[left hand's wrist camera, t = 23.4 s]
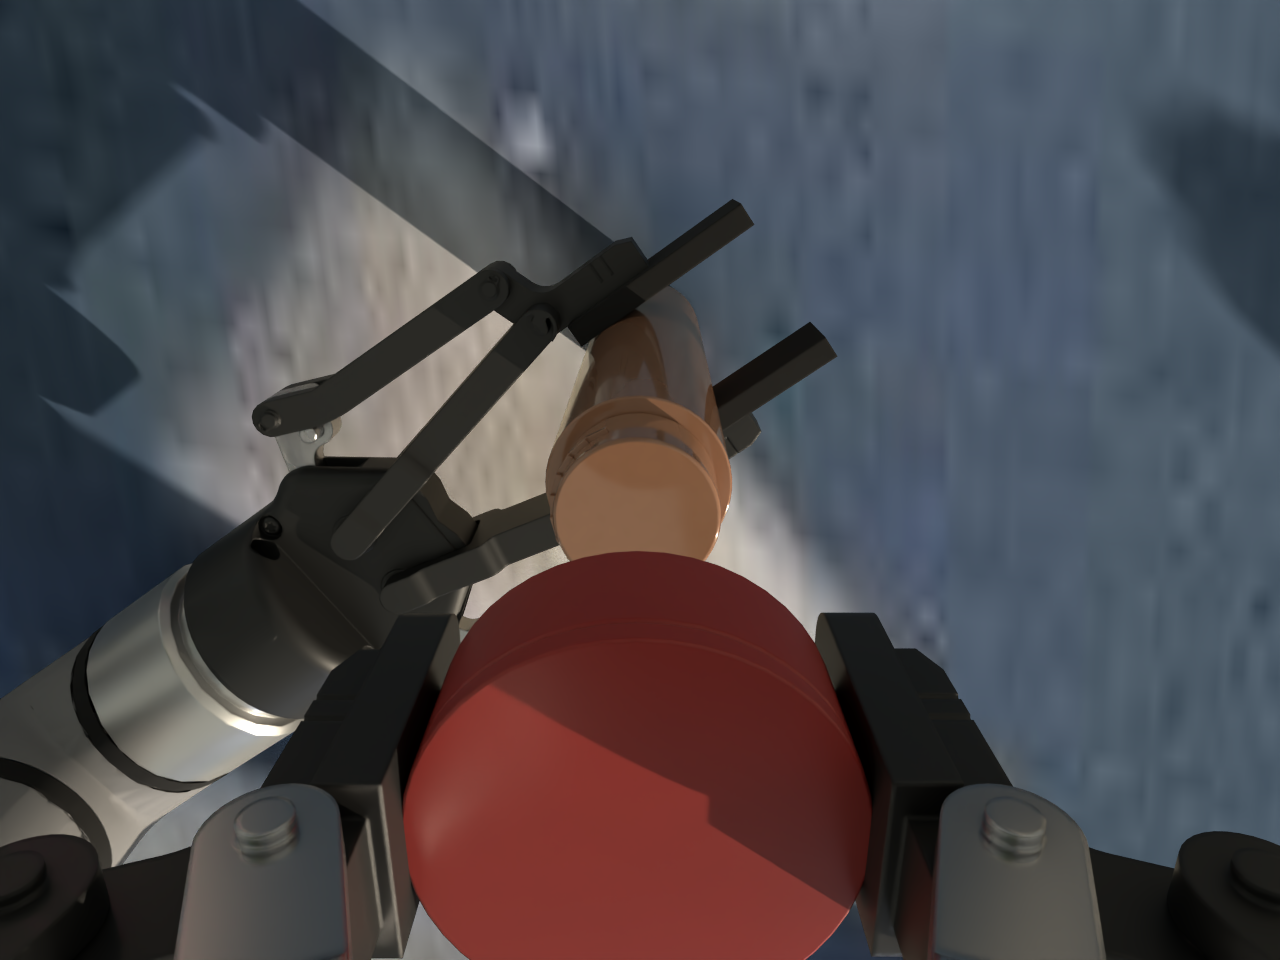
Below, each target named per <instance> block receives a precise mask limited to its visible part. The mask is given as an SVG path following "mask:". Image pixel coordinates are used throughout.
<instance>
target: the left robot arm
mask: <svg viewBox="0 0 1280 960" xmlns="http://www.w3.org/2000/svg"><path fill="white" fill-rule="evenodd" d="M460 643H461V641H460V630H459V623H458V619H457V616H456V615H455V614H454V613H440V614H400V615H399V616H398V618H397V619H396V621H395V623H394V625H393V627H392V629H391V631H390V633H389V635H388V636H387V638H386V640H385V642H384V644H383V646H382V648H381V649H359V650H358V651H357V652H355V653H354V654H353V655H351V656H350V657H349V658H347V659H346V660H345V661H343V662H342V663H341V664H339V665H338V666H337V667H335V668H334V669H333V670H331V672H330V674H329V675H328V677H327V679H326V680H325V682H324V684H323V685H322V687H321V689H320V690H319V692H318V694H317V698H316V700H313V702H312V704H311V705H310V707H309V709H308V710H307V712H306V713H305V715H304V721H301V722H300V723H299V725H298V727H297V728H296V730H295V732H294V733H293V735H292V737H291V738H290V740H289V742H288V743H287V745H286V747H285V748H284V750H283V752H282V753H281V755H280V757H279V758H278V760H277V762H276V763H275V765H274V767H273V768H272V770H271V772H270V773H269V775H268V777H267V778H266V780H265V782H264V783H263V785H262V786H261V788H260V789H257V790H254V791H251V792H249V793H246V794H244V795H242V796H240V797H238V798H236V799H234V800H232V801H230V802H229V803H227V804H225V805H224V806H222V807H221V808H220V809H218V810H217V811H216V812H214V813H213V814H212V815H211V816H210V817H209V818H208V819H207V820H206V821H205V822H204V823H203V825H202V826H201V827H200V828H199V830H198V832H197V833H196V835H195V837H194V839H193V843H192V846H191V847H188V848H185V849H182V850H180V851H177V852H173V853H170V854H166V855H162V856H158V857H154V858H149V859H145V860H141V861H136V862H132V863H128V864H123V865H119V866H115V867H110V868H106V869H102V868H101V865H100V861H99V857H98V854H97V851H96V849H95V847H94V846H93V845H92V844H91V843H90V842H88V841H87V840H85V839H83V838H81V837H77V836H74V835H67V834H49V835H41V836H35V837H31V838H26V839H22V840H19V841H16V842H13V843H10V844H7V845H4V846H2V847H0V960H371V958H403V955H404V951H405V948H406V945H407V941H408V938H409V935H410V931H411V928H412V924H413V921H414V918H415V914H416V911H417V908H418V904H419V901H420V900H419V898H418V896H417V895H416V893H415V890H414V888H413V885H412V882H411V879H410V873H409V865H408V857H407V848H406V840H405V832H404V823H403V812H402V802H403V794H404V790H405V787H406V784H407V780H408V777H409V774H410V770H411V767H412V765H413V762H414V759H415V757H416V754H417V752H418V750H419V746H420V743H421V741H422V738H423V735H424V733H425V730H426V727H427V725H428V722H429V719H430V717H431V714H432V711H433V709H434V706H435V703H436V701H437V698H438V695H439V693H440V690H441V687H442V685H443V682H444V679H445V677H446V674H447V671H448V668H449V666H450V664H451V662H452V659H453V657H454V655H455V653H456V651H457V649H458V647H459V645H460ZM815 644H816V646H817V648H818V650H819V653H820V655H821V657H822V659H823V661H824V663H825V665H826V667H827V670H828V673H829V676H830V678H831V681H832V684H833V687H834V689H835V692H836V695H837V698H838V700H839V703H840V706H841V709H842V711H843V714H844V717H845V720H846V722H847V725H848V728H849V731H850V733H851V736H852V739H853V741H854V744H855V747H856V750H857V752H858V755H859V758H860V761H861V763H862V766H863V769H864V772H865V775H866V779H867V782H868V785H869V789H870V792H871V797H872V818H871V828H870V837H869V845H868V854H867V863H866V871H865V877H864V882H863V884H862V887H861V890H860V892H859V894H858V896H857V898H856V900H855V901H856V905H857V908H858V911H859V915H860V918H861V922H862V925H863V929H864V932H865V936H866V939H867V942H868V946H869V949H870V953H871V956H872V957H903V960H1280V846H1279V845H1277V844H1274V843H1272V842H1269V841H1266V840H1263V839H1260V838H1257V837H1254V836H1249V835H1245V834H1240V833H1233V832H1223V831H1213V832H1204V833H1200V834H1197V835H1194V836H1192V837H1190V838H1189V839H1187V840H1186V841H1185V842H1184V843H1183V844H1182V846H1181V848H1180V851H1179V854H1178V857H1177V861H1176V865H1175V868H1170V867H1165V866H1161V865H1157V864H1152V863H1148V862H1144V861H1139V860H1135V859H1131V858H1126V857H1122V856H1118V855H1113V854H1109V853H1106V852H1102V851H1098V850H1095V849H1092V848H1089V846H1088V843H1087V839H1086V837H1085V835H1084V833H1083V832H1082V830H1081V828H1080V827H1079V826H1078V825H1077V823H1076V822H1075V821H1074V820H1073V819H1072V818H1071V817H1070V816H1069V815H1068V814H1067V813H1066V812H1064V811H1063V810H1062V809H1060V808H1059V807H1058V806H1056V805H1055V804H1053V803H1051V802H1050V801H1048V800H1046V799H1044V798H1042V797H1040V796H1038V795H1036V794H1034V793H1031V792H1029V791H1026V790H1023V789H1020V788H1016V787H1013V786H1012V784H1011V782H1010V781H1009V779H1008V777H1007V776H1006V774H1005V772H1004V771H1003V769H1002V767H1001V766H1000V764H999V762H998V761H997V759H996V757H995V755H994V754H993V752H992V750H991V749H990V747H989V745H988V744H987V742H986V740H985V739H984V737H983V735H982V734H981V732H980V730H979V729H978V727H977V725H976V723H975V722H974V720H971V719H970V713H969V712H968V710H967V708H966V707H965V705H964V703H963V702H962V700H961V699H958V693H957V691H956V690H955V688H954V686H953V685H952V683H951V681H950V680H949V678H948V676H947V675H946V673H945V671H944V670H943V669H942V668H941V667H939V666H938V665H937V664H935V663H934V662H933V661H931V660H930V659H929V658H927V657H926V656H925V655H923V654H922V653H921V652H920V651H918V650H917V649H894V647H893V645H892V643H891V641H890V639H889V638H888V636H887V634H886V632H885V630H884V628H883V626H882V624H881V622H880V620H879V618H878V617H877V615H876V614H875V613H820V615H819V617H818V620H817V626H816V636H815Z"/></svg>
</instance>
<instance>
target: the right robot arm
mask: <svg viewBox="0 0 1280 960" xmlns="http://www.w3.org/2000/svg"><path fill="white" fill-rule="evenodd" d="M753 225H754V223H753V222H752V220H751V219H750V217H749V216H748V214H747V212H746V211H745V209H744V208H743V206H742V204H741V203H739V202H737V201H735V200H733V199H732V200H730V201H729V202H728V203H726V204H725V205H723V206H722V207H721V208H719V209H718V210H716V211H715V212H714V213H712V214H711V215H709V216H708V217H707V218H705V219H704V220H702V221H701V222H700V223H698V224H697V225H695V226H694V227H693V228H691V229H690V230H689V231H687V232H686V233H684V234H683V235H682V236H680V237H679V238H677V239H676V240H675V241H673V242H672V243H670V244H669V245H668V246H666V247H665V248H663V249H662V250H661V251H659V252H658V253H656V254H655V255H654V256H652V257H651V258H649V259H648V260H647V258H646V257H645V256H644V254H643V253H642V251H641V250H640V248H639V247H638V245H637V244H636V242H635V241H634V239H633V238H632V237H630V238H626V239H621V240H617V241H615V242H614V243H612V244H611V245H610V246H608V247H607V248H605V249H604V250H603V251H601V252H600V253H599V254H597V255H596V256H594V257H593V258H592V259H590V260H589V261H588V262H586V263H585V264H583V265H582V266H581V267H579V268H578V269H577V270H575V271H574V272H573V273H571V274H570V275H568V276H567V277H566V278H564V279H563V280H562V281H560V282H559V283H557V284H555V285H552V286H540V285H537V284H535V283H533V282H531V281H530V280H528V279H527V278H525V277H524V276H522V275H521V274H520V273H518V272H517V271H516V269H515V268H514V267H513V266H512V265H511V264H509V263H507V262H505V261H496V262H494V263H491V264H490V265H488V266H487V267H485V268H484V269H482V270H481V271H480V272H478V273H477V274H475V275H474V276H473V277H471V278H470V279H468V280H467V281H466V282H464V283H463V284H461V285H460V286H458V287H457V288H456V289H454V290H453V291H451V292H450V293H449V294H447V295H446V296H444V297H443V298H442V299H440V300H439V301H437V302H436V303H434V304H433V305H432V306H430V307H429V308H427V309H426V310H425V311H423V312H422V313H420V314H419V315H418V316H416V317H415V318H413V319H412V320H410V321H409V322H408V323H406V324H405V325H403V326H402V327H401V328H399V329H398V330H396V331H395V332H394V333H392V334H391V335H389V336H388V337H386V338H385V339H384V340H382V341H381V342H379V343H378V344H377V345H375V346H374V347H372V348H371V349H370V350H368V351H367V352H365V353H364V354H362V355H361V356H360V357H358V358H357V359H355V360H354V361H353V362H351V363H350V364H348V365H347V366H346V367H344V368H343V369H341V370H340V371H338V372H337V373H336V374H332V375H328V376H324V377H320V378H316V379H312V380H308V381H303V382H299V383H295V384H291V385H289V386H287V387H285V388H283V389H282V390H280V391H279V392H277V393H276V394H274V395H273V396H271V397H270V398H268V399H267V400H265V401H264V402H262V403H261V404H259V405H257V407H256V408H255V409H254V410H253V414H252V420H253V424H254V426H255V427H256V429H257V430H258V431H259V432H260V433H262V434H263V435H266V436H269V437H275V438H276V440H277V443H278V445H279V448H280V450H281V453H282V455H283V458H284V460H285V463H286V465H287V467H288V470H289V473H288V474H287V475H286V476H285V477H284V479H283V480H282V482H281V484H280V486H279V489H278V492H277V495H276V497H275V499H274V500H273V501H272V502H271V503H270V504H268V505H267V506H265V507H264V508H263V509H261V510H260V511H259V512H257V513H256V514H254V515H253V516H252V517H250V518H249V519H248V520H246V521H245V522H243V523H242V524H241V525H239V526H238V527H237V528H235V529H234V530H232V531H231V532H230V533H228V534H227V535H226V536H224V537H223V538H222V539H220V540H219V541H217V542H216V543H215V544H213V545H212V546H211V547H209V548H208V549H206V550H205V551H204V552H202V553H201V554H200V555H199V556H198V557H197V558H196V559H195V560H194V562H193V563H192V564H188V565H185V566H183V567H182V568H180V569H179V570H177V571H176V572H175V573H173V574H172V575H171V576H169V577H168V578H166V579H165V580H164V581H162V582H161V583H160V584H158V585H157V586H155V587H154V588H153V589H151V590H150V591H149V592H147V593H146V594H144V595H143V596H142V597H140V598H139V599H138V600H136V601H135V602H133V603H132V604H131V605H129V606H128V607H127V608H125V609H124V610H122V611H121V612H120V613H118V614H117V615H116V616H114V617H113V618H111V619H110V620H109V621H107V622H106V624H105V625H104V626H102V627H101V628H100V629H98V630H97V631H96V632H94V633H93V634H92V635H91V636H90V637H89V638H88V639H86V640H85V641H83V642H82V643H81V644H79V645H78V646H76V647H75V648H73V649H72V650H70V651H69V652H67V653H66V654H65V655H63V656H62V657H60V658H59V659H57V660H56V661H54V662H53V663H51V664H50V665H48V666H47V667H46V668H44V669H43V670H41V671H40V672H38V673H37V674H35V675H34V676H32V677H31V678H30V679H28V680H27V681H25V682H24V683H22V684H21V685H20V686H18V687H17V688H15V689H14V690H13V691H11V692H10V693H8V694H7V695H6V696H4V697H3V698H0V847H2V846H4V845H7V844H10V843H13V842H16V841H19V840H22V839H26V838H31V837H35V836H41V835H49V834H67V835H74V836H77V837H81V838H83V839H85V840H87V841H88V842H90V843H91V844H92V845H93V846H94V847H95V849H96V851H97V854H98V857H99V861H100V865H101V868H102V869H106V868H110V867H115V866H119V865H122V864H123V863H124V861H125V860H126V859H127V857H128V856H129V854H130V853H131V852H132V850H133V849H134V848H135V846H136V845H137V844H138V842H139V841H140V840H141V838H142V837H143V836H144V835H145V833H146V832H147V831H148V830H149V829H150V828H151V827H152V826H153V825H154V824H155V823H156V822H157V821H158V820H160V819H161V818H162V817H163V816H164V815H166V814H167V813H169V812H170V811H172V810H173V809H174V808H176V807H177V806H179V805H181V804H182V803H184V802H185V801H187V800H188V799H190V798H191V797H193V796H194V795H196V794H197V793H199V792H200V791H202V790H203V789H205V788H206V787H208V786H209V785H211V784H212V783H213V782H215V781H217V780H218V779H220V778H222V777H223V776H225V775H227V774H228V773H229V772H231V771H232V770H234V769H235V768H237V767H239V766H240V765H242V764H243V763H245V762H246V761H248V760H250V759H251V758H253V757H254V756H256V755H257V754H259V753H261V752H262V751H264V750H265V749H267V748H268V747H270V746H272V745H273V744H275V743H276V742H278V741H280V740H281V739H283V738H284V737H286V736H287V735H289V734H291V733H292V732H294V731H295V730H296V728H297V727H298V725H299V723H300V722H301V721H304V715H305V713H306V712H307V710H308V709H309V707H310V705H311V704H312V702H313V700H316V698H317V694H318V692H319V690H320V689H321V687H322V685H323V684H324V682H325V680H326V679H327V677H328V675H329V674H330V672H331V670H333V669H334V668H335V667H337V666H338V665H339V664H341V663H342V662H343V661H345V660H346V659H347V658H349V657H350V656H351V655H353V654H354V653H355V652H357V651H358V650H359V649H381V648H382V646H383V644H384V642H385V640H386V638H387V636H388V635H389V633H390V631H391V629H392V627H393V625H394V623H395V621H396V619H397V618H398V616H399V615H400V614H440V613H454V614H455V615H456V616H457V619H458V623H459V630H460V641H461V642H462V640H463V639H464V638H465V636H466V635H467V633H468V632H469V630H470V629H471V627H472V626H473V625H474V623H475V622H476V621H477V620H478V619H479V618H477V619H470V618H466V617H464V616H463V614H464V611H465V607H466V604H467V601H468V598H469V594H470V591H471V588H472V585H473V584H474V583H477V582H479V581H482V580H485V579H487V578H490V577H492V576H494V575H496V574H497V573H499V572H500V571H501V570H502V569H503V568H504V567H506V566H507V565H509V564H512V563H514V562H517V561H519V560H522V559H525V558H527V557H530V556H532V555H535V554H538V553H540V552H543V551H545V550H548V549H551V548H553V547H556V546H558V545H559V543H558V542H557V540H556V536H555V533H554V530H553V526H552V523H551V520H550V506H549V503H548V499H547V494H546V493H544V494H542V495H539V496H537V497H534V498H531V499H529V500H526V501H524V502H521V503H519V504H516V505H514V506H511V507H509V508H506V509H503V510H501V509H493V510H490V511H488V512H485V513H483V514H480V515H478V516H475V517H473V518H472V517H471V516H470V515H469V513H468V512H467V511H465V510H464V509H462V508H461V507H460V506H458V505H457V504H456V503H454V502H453V501H452V500H450V498H449V497H448V495H447V492H446V490H445V488H444V486H443V484H442V482H441V480H440V479H439V477H438V476H437V475H436V474H435V473H434V472H435V471H436V470H437V469H438V467H439V466H440V465H441V464H442V463H443V462H444V461H445V460H446V458H447V457H448V456H449V455H450V454H451V453H452V452H453V451H454V449H455V448H456V447H457V446H458V445H459V444H460V443H461V442H462V440H463V439H464V438H465V437H466V436H467V435H468V434H469V433H470V432H471V430H472V429H473V428H474V427H475V426H476V425H477V424H478V423H479V421H480V420H481V419H482V418H483V417H484V416H485V415H486V414H487V412H488V411H489V410H490V409H491V408H492V407H493V406H494V405H495V404H496V402H497V401H498V400H499V399H500V398H501V397H502V396H503V395H504V393H505V392H506V391H507V390H508V389H509V388H510V387H511V386H512V384H513V383H514V382H515V381H516V380H517V379H518V378H519V377H520V376H521V374H522V373H523V372H524V371H525V370H526V369H527V368H528V367H529V365H530V364H531V363H532V362H533V361H534V360H535V359H536V358H537V356H538V355H539V354H540V353H541V352H542V351H543V350H544V349H545V348H546V346H547V345H548V344H549V343H550V342H551V341H552V342H553V340H554V339H555V337H556V335H557V334H558V333H559V332H560V331H562V330H563V329H565V328H566V327H567V326H568V328H569V330H570V331H571V332H572V334H573V335H574V337H575V338H576V339H577V341H578V342H579V343H580V345H581V346H583V345H585V344H586V343H587V342H589V341H590V340H592V339H593V338H595V337H596V336H597V335H599V334H600V333H602V332H603V331H604V330H606V329H607V328H609V327H610V326H612V325H613V324H614V323H616V322H617V321H619V320H620V319H621V318H623V317H624V316H626V315H627V314H629V313H630V312H631V311H633V310H634V309H636V308H637V307H638V306H640V305H641V304H643V303H644V302H646V301H647V300H648V299H650V298H651V297H653V296H654V295H655V294H657V293H658V292H660V291H661V290H663V289H664V288H665V287H667V286H668V285H670V284H671V283H672V282H674V281H675V280H677V279H678V278H680V277H681V276H682V275H684V274H685V273H687V272H688V271H689V270H691V269H692V268H694V267H695V266H697V265H698V264H699V263H701V262H702V261H704V260H705V259H706V258H708V257H709V256H711V255H712V254H714V253H715V252H716V251H718V250H719V249H721V248H722V247H723V246H725V245H726V244H728V243H729V242H731V241H732V240H733V239H735V238H736V237H738V236H739V235H740V234H742V233H743V232H745V231H746V230H748V229H749V228H750V227H752V226H753ZM492 311H496V312H497V313H499V314H500V315H502V316H503V317H504V318H506V319H507V320H509V321H510V322H512V323H513V325H512V326H511V327H510V329H509V330H508V331H507V332H506V333H505V334H504V336H503V337H502V338H501V339H500V340H499V341H498V342H497V344H496V345H495V346H494V347H493V348H492V349H491V350H490V352H489V353H488V354H487V355H486V356H485V357H484V358H483V360H482V361H481V362H480V363H479V364H478V365H477V367H476V368H475V369H474V370H473V371H472V372H471V373H470V375H469V376H468V377H467V378H466V379H465V380H464V381H463V383H462V384H461V385H460V386H459V387H458V388H457V389H456V391H455V392H454V393H453V394H452V395H451V396H450V398H449V399H448V400H447V401H446V402H445V403H444V404H443V406H442V407H441V408H440V409H439V410H438V411H437V412H436V414H435V415H434V416H433V417H432V418H431V419H430V420H429V422H428V423H427V424H426V425H425V426H424V427H423V428H422V429H421V431H420V432H419V433H418V434H417V435H416V436H415V437H414V439H413V440H412V441H411V442H410V443H409V444H408V445H407V447H406V448H405V449H404V450H403V451H402V452H401V453H400V455H399V456H398V457H397V458H388V457H326V456H324V453H323V446H324V444H325V443H327V442H328V441H330V440H331V439H332V438H333V437H334V436H335V435H336V434H337V433H338V432H339V431H340V428H341V423H342V422H341V417H340V416H342V415H343V414H345V413H347V412H348V411H350V410H351V409H352V408H354V407H355V406H357V405H358V404H360V403H361V402H362V401H364V400H365V399H367V398H368V397H370V396H371V395H373V394H374V393H375V392H377V391H378V390H380V389H381V388H383V387H384V386H386V385H387V384H388V383H390V382H391V381H393V380H394V379H396V378H397V377H398V376H400V375H401V374H403V373H404V372H406V371H407V370H409V369H410V368H411V367H413V366H414V365H416V364H417V363H419V362H420V361H422V360H423V359H424V358H426V357H427V356H429V355H430V354H432V353H433V352H434V351H436V350H437V349H439V348H440V347H442V346H443V345H445V344H446V343H447V342H449V341H450V340H452V339H453V338H455V337H456V336H458V335H459V334H460V333H462V332H463V331H465V330H466V329H468V328H469V327H470V326H472V325H473V324H475V323H476V322H478V321H479V320H481V319H482V318H483V317H485V316H486V315H488V314H489V313H491V312H492ZM836 357H837V355H836V353H835V352H834V350H833V349H832V347H831V345H830V344H829V342H828V341H827V339H826V338H825V336H824V335H823V334H822V333H821V332H820V331H819V330H818V329H817V328H816V327H815V326H814V325H813V324H812V323H811V322H809V323H807V324H806V325H804V326H803V327H801V328H800V329H798V330H797V331H795V332H794V333H792V334H791V335H789V336H788V337H787V338H785V339H784V340H782V341H781V342H779V343H778V344H776V345H775V346H773V347H772V348H770V349H769V350H767V351H766V352H764V353H763V354H761V355H760V356H758V357H757V358H755V359H754V360H752V361H751V362H749V363H748V364H746V365H745V366H743V367H742V368H740V369H739V370H737V371H736V372H734V373H733V374H731V375H730V376H728V377H727V378H725V379H724V380H722V381H721V382H719V383H718V384H716V385H715V386H713V391H714V396H715V400H716V404H717V409H718V413H719V418H720V422H721V427H722V431H723V436H724V440H725V444H726V449H727V453H728V458H729V459H730V458H732V457H733V456H735V455H736V454H737V453H739V452H741V451H743V450H744V449H746V448H747V447H749V446H750V445H752V444H753V442H754V441H755V440H756V438H757V437H758V436H759V434H760V433H761V430H760V427H759V425H758V423H757V420H756V419H755V417H754V416H753V414H752V413H751V412H753V411H754V410H756V409H758V408H759V407H761V406H762V405H764V404H765V403H767V402H768V401H770V400H771V399H773V398H774V397H776V396H777V395H779V394H781V393H782V392H784V391H785V390H787V389H788V388H790V387H791V386H793V385H794V384H796V383H797V382H799V381H800V380H802V379H803V378H805V377H807V376H808V375H810V374H811V373H813V372H814V371H816V370H817V369H819V368H820V367H822V366H823V365H825V364H826V363H828V362H830V361H831V360H833V359H834V358H836Z"/></svg>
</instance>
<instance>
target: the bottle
mask: <svg viewBox="0 0 1280 960" xmlns="http://www.w3.org/2000/svg"><path fill="white" fill-rule="evenodd" d="M545 483H546V494H547V499H548V503H549V506H550V520H551V523H552V526H553V530H554V533H555V536H556V540H557V542H558V543H559V545H560V546H561V548H562V550H563V552H564V553H565V555H566V556H567V559H568V560H570V561H573V560H576V559H580V558H583V557H588V556H594V555H599V554H605V553H611V552H627V551H648V552H665V553H670V554H676V555H682V556H687V557H692V558H696V559H699V560H702V561H705V560H706V559H707V558H708V556H709V554H710V553H711V551H712V550H713V548H714V545H715V543H716V541H717V538H718V535H719V531H720V526H721V523H722V521H723V519H724V517H725V515H726V512H727V510H728V506H729V503H730V499H731V492H732V474H731V467H730V462H729V458H728V453H727V449H726V444H725V440H724V436H723V431H722V427H721V422H720V418H719V413H718V409H717V404H716V400H715V396H714V391H713V387H712V382H711V378H710V373H709V369H708V365H707V360H706V356H705V351H704V347H703V342H702V338H701V334H700V329H699V325H698V321H697V317H696V314H695V312H694V310H693V308H692V306H691V305H690V303H689V302H688V301H687V299H686V298H685V297H684V296H683V295H682V294H681V293H679V292H678V291H677V290H675V289H674V288H672V287H670V286H667V287H665V288H664V289H663V290H661V291H660V292H658V293H657V294H655V295H654V296H653V297H651V298H650V299H648V300H647V301H646V302H644V303H643V304H641V305H640V306H638V307H637V308H636V309H634V310H633V311H631V312H630V313H629V314H627V315H626V316H624V317H623V318H621V319H620V320H619V321H617V322H616V323H614V324H613V325H612V326H610V327H609V328H607V329H606V330H604V331H603V332H602V333H600V334H599V335H597V336H596V337H595V338H593V339H592V340H590V341H589V344H588V347H587V350H586V353H585V356H584V358H583V361H582V364H581V367H580V370H579V373H578V376H577V379H576V382H575V384H574V387H573V390H572V393H571V396H570V399H569V402H568V405H567V408H566V410H565V413H564V416H563V419H562V422H561V425H560V428H559V431H558V433H557V436H556V439H555V442H554V445H553V448H552V451H551V454H550V457H549V459H548V464H547V469H546V481H545Z"/></svg>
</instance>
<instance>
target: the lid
mask: <svg viewBox="0 0 1280 960" xmlns="http://www.w3.org/2000/svg"><path fill="white" fill-rule="evenodd" d="M402 812H403V823H404V832H405V840H406V848H407V857H408V865H409V873H410V879H411V882H412V885H413V888H414V890H415V893H416V895H417V896H418V898H419V900H420V902H421V904H422V905H423V907H424V909H425V911H426V913H427V914H428V916H429V917H430V918H431V920H432V921H433V922H434V924H435V925H436V926H437V928H438V929H439V930H440V931H441V933H442V934H443V935H444V936H445V937H446V938H447V939H448V940H449V941H450V942H451V943H452V944H453V945H454V946H455V947H456V948H457V949H458V950H459V951H460V952H461V953H462V954H463V955H464V956H466V957H467V958H468V959H470V960H805V959H807V958H808V957H809V956H810V955H812V954H813V953H814V952H815V951H816V950H817V949H818V948H819V947H820V946H821V945H822V944H823V943H824V942H825V941H826V940H827V939H828V938H829V937H830V936H831V935H832V934H833V933H834V931H835V930H836V929H837V927H838V926H839V925H840V923H841V922H842V921H843V919H844V918H845V917H846V915H847V914H848V912H849V911H850V909H851V907H852V905H853V903H854V901H855V900H856V898H857V896H858V894H859V892H860V890H861V887H862V884H863V882H864V877H865V871H866V863H867V854H868V845H869V837H870V828H871V818H872V797H871V792H870V789H869V785H868V782H867V779H866V775H865V772H864V769H863V766H862V763H861V761H860V758H859V755H858V752H857V750H856V747H855V744H854V741H853V739H852V736H851V733H850V731H849V728H848V725H847V722H846V720H845V717H844V714H843V711H842V709H841V706H840V703H839V700H838V698H837V695H836V692H835V689H834V687H833V684H832V681H831V678H830V676H829V673H828V670H827V667H826V665H825V663H824V661H823V659H822V657H821V655H820V653H819V650H818V648H817V646H816V644H815V643H814V641H813V640H812V638H811V637H810V636H809V634H808V633H807V631H806V630H805V628H804V627H803V625H802V624H801V623H800V622H799V621H798V620H797V619H796V618H795V617H794V615H793V614H792V613H791V612H790V611H789V610H788V609H787V608H786V607H785V606H784V605H783V604H781V603H780V602H779V601H778V600H777V599H775V598H774V597H773V596H772V595H770V594H769V593H768V592H767V591H766V590H764V589H762V588H761V587H759V586H757V585H756V584H754V583H753V582H751V581H749V580H748V579H746V578H744V577H743V576H740V575H738V574H736V573H734V572H732V571H729V570H727V569H725V568H723V567H720V566H718V565H715V564H712V563H708V562H705V561H702V560H699V559H696V558H692V557H687V556H682V555H676V554H670V553H665V552H648V551H627V552H611V553H605V554H599V555H594V556H588V557H583V558H580V559H576V560H573V561H570V562H567V563H564V564H560V565H557V566H555V567H552V568H550V569H548V570H546V571H544V572H541V573H539V574H537V575H535V576H533V577H531V578H529V579H528V580H526V581H524V582H523V583H521V584H519V585H518V586H516V587H515V588H513V589H511V590H510V591H508V592H507V593H506V594H505V595H504V596H502V597H501V598H500V599H499V600H497V601H496V602H495V603H494V604H493V605H491V606H490V607H489V608H488V609H487V610H486V611H485V613H484V614H483V615H482V616H481V617H480V618H479V619H478V620H477V621H476V622H475V623H474V625H473V626H472V627H471V629H470V630H469V632H468V633H467V635H466V636H465V638H464V639H463V640H462V642H461V643H460V645H459V647H458V649H457V651H456V653H455V655H454V657H453V659H452V662H451V664H450V666H449V668H448V671H447V674H446V677H445V679H444V682H443V685H442V687H441V690H440V693H439V695H438V698H437V701H436V703H435V706H434V709H433V711H432V714H431V717H430V719H429V722H428V725H427V727H426V730H425V733H424V735H423V738H422V741H421V743H420V746H419V750H418V752H417V754H416V757H415V759H414V762H413V765H412V767H411V770H410V774H409V777H408V780H407V784H406V787H405V790H404V794H403V802H402Z"/></svg>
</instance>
